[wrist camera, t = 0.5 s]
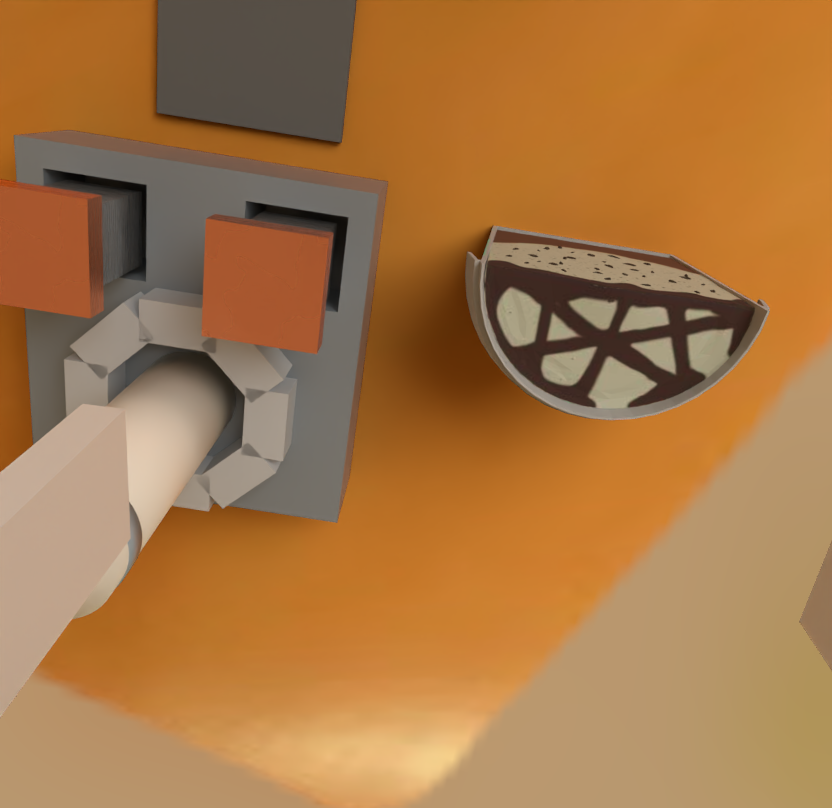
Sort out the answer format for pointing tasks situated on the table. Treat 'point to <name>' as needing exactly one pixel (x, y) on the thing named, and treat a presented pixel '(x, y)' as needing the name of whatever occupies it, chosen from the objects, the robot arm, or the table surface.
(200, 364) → the cartridge
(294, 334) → the plunger
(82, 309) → the plunger
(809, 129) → the table surface
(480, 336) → the food container
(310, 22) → the mat
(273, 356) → the housing
